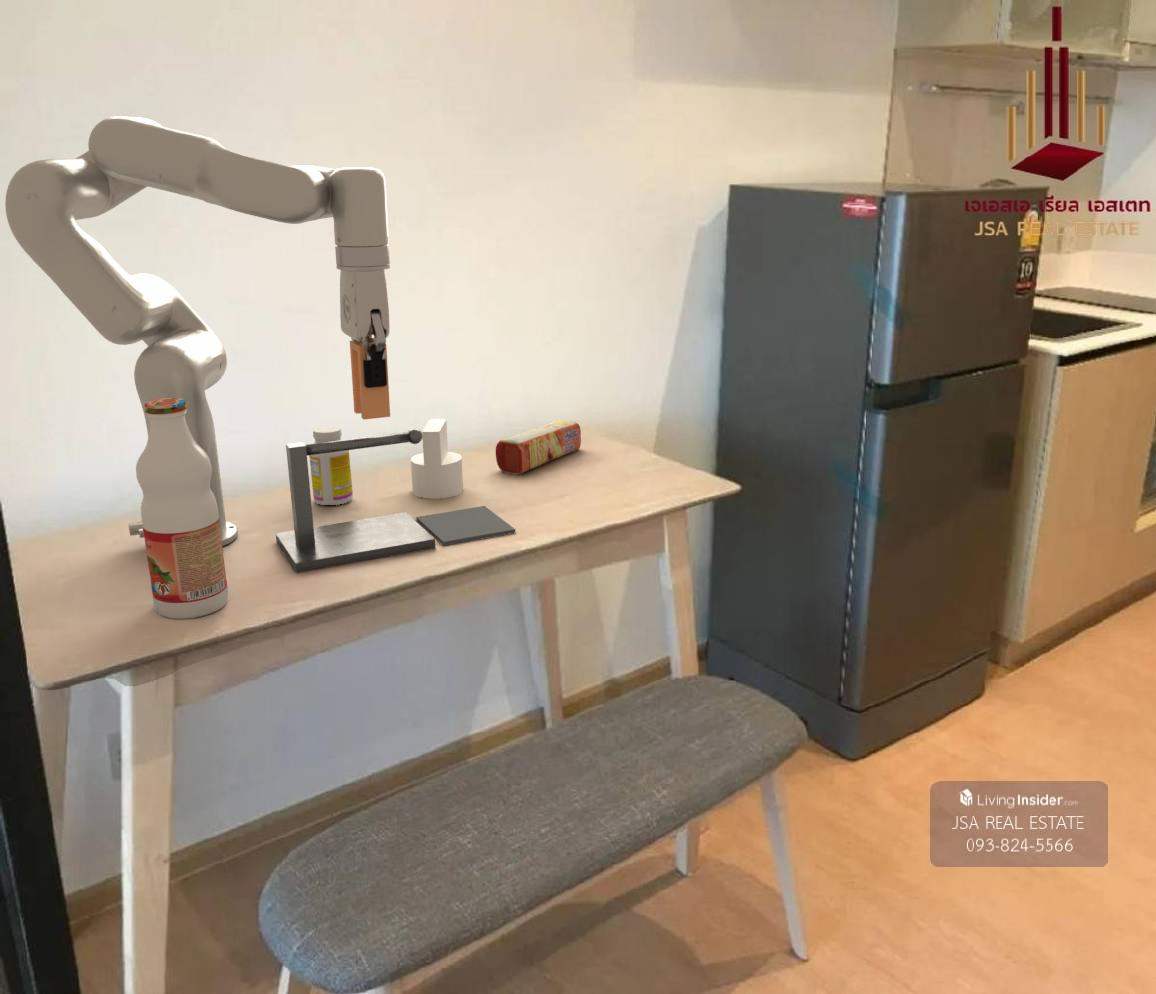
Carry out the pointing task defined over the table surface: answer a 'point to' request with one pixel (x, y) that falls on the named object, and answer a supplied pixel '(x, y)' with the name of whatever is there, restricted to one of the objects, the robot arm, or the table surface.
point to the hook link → (366, 399)
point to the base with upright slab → (436, 465)
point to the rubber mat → (464, 525)
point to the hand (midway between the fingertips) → (370, 381)
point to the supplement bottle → (330, 470)
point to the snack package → (538, 446)
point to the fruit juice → (180, 517)
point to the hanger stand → (347, 538)
